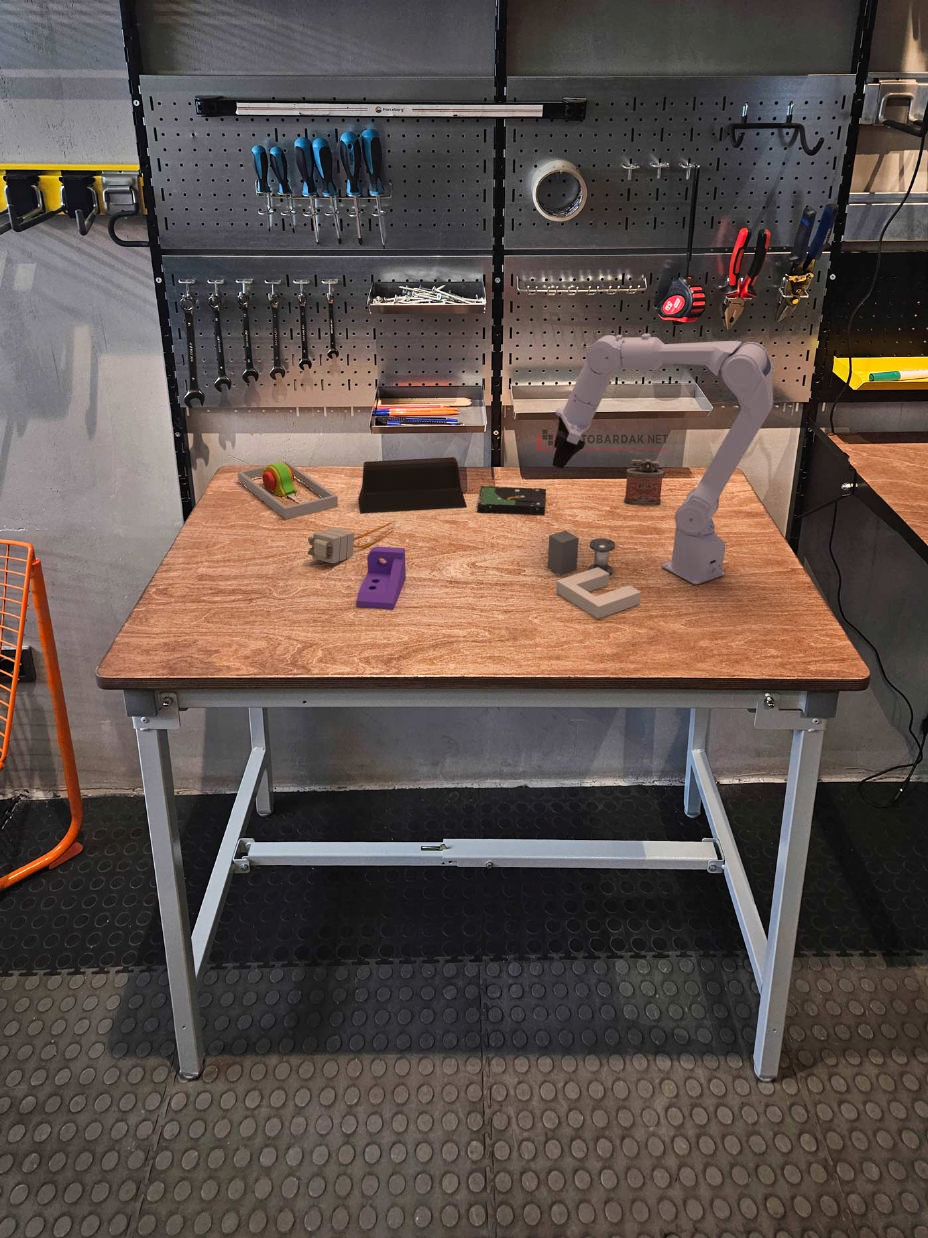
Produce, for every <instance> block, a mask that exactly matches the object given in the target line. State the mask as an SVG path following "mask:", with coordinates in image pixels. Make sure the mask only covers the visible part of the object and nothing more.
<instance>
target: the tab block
mask: <svg viewBox="0 0 928 1238" xmlns="http://www.w3.org/2000/svg"><path fill="white" fill-rule="evenodd" d="M579 539H580V538H579V536H576V535H574V534H572V533H571V532H570V531H568V530H562V531H559V532H556V533H553V534H549V535H548V550H547V551H548V554H547V568H548V569H549V570H550V569H551V571H552V572H553V571H554V573H555V574H557V575H559V576H564V575H566V574H571V573H574V572H577V569H578V568H577V567H578V553H579V551H578V550H579Z"/></svg>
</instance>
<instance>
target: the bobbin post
mask: <svg viewBox="0 0 928 1238" xmlns="http://www.w3.org/2000/svg"><path fill="white" fill-rule="evenodd" d="M589 548H590V549H591V550H593V551H594V557H593V564H590V565H589V566H588V568H587V571H588V570H591V569H594V568H597V567H599V568H600V569H602V570H604V571H606V572H607V573H609V577H610V576H612V575H613V573H614V568H613V567H612V565H609V562H610V561H609V560H610V552H611V551H614V550H615V549H616V543H615V541H613V540H612V539H608V538H604V537H599V538H597V537H596V538H593V539H592V540H590V542H589Z"/></svg>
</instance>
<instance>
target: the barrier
mask: <svg viewBox="0 0 928 1238" xmlns="http://www.w3.org/2000/svg"><path fill="white" fill-rule="evenodd" d="M362 465H363V466H362V467H363V468H362V469H363V470H362V479H361V480H362V481H361V488H360V491H359V495H358V499H357V501H358V507H359V508H358V509H359V513H360V515H362V514H363V515H364V514H380V513H396V512H397V513H398V512H412V511H413V512H415V511H433V510H435V511H436V510H452V509H465V508H466V509H467V508H468V505H467V502H466V499H465V497H464V492H463V489H462V483H461V477H460V476H461V475H460V471H459V470H460V469H459V462H458V460H457V458H456V457H455V456H454V457H453V456H452V457H435V458H434V457H432V458H429V457H428V458H411V459H409V458H408V459H392V460H375V461H374V460H372V461H364V462H363V464H362Z"/></svg>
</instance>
